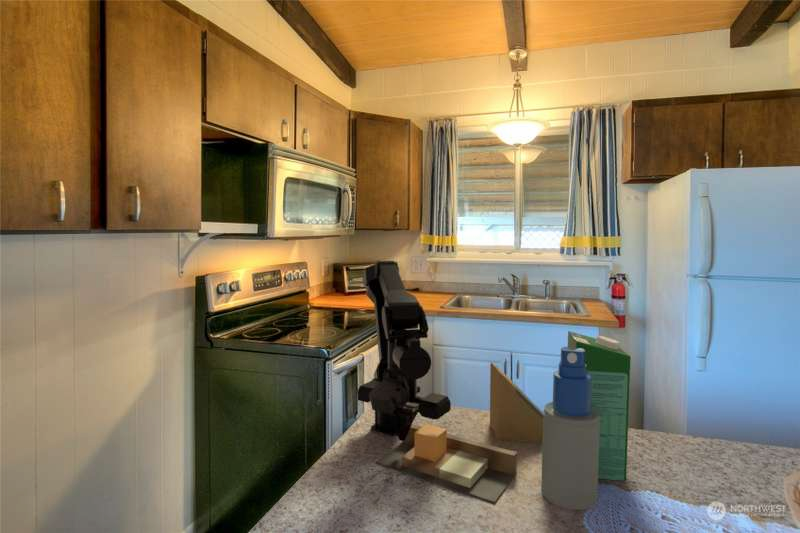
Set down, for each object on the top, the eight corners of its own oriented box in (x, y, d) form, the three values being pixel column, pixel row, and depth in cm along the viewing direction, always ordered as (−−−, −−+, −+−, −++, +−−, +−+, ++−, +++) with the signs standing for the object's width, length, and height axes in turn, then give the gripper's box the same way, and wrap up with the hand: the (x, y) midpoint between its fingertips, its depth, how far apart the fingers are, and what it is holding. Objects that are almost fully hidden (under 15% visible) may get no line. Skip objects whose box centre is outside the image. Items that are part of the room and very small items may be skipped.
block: (414, 455, 84) (414, 432, 84) (426, 445, 88) (426, 423, 88) (435, 461, 82) (435, 438, 81) (446, 451, 85) (446, 429, 85)
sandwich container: (569, 440, 95) (571, 372, 94) (498, 441, 94) (499, 373, 93) (554, 423, 103) (556, 360, 102) (489, 424, 103) (490, 361, 102)
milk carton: (626, 481, 79) (631, 343, 77) (572, 476, 81) (576, 340, 79) (612, 456, 88) (617, 332, 86) (564, 452, 89) (567, 330, 88)
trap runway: (375, 463, 85) (375, 442, 85) (405, 440, 94) (406, 422, 94) (494, 503, 72) (495, 480, 72) (516, 473, 81) (516, 452, 81)
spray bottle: (595, 516, 69) (600, 358, 67) (536, 500, 73) (539, 351, 72) (599, 487, 77) (603, 345, 75) (546, 474, 81) (549, 340, 79)
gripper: (339, 365, 85) (340, 444, 86) (423, 383, 75) (422, 471, 76) (373, 353, 95) (373, 423, 96) (452, 367, 85) (451, 446, 86)
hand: (402, 440), depth 88 cm, fingers closed
